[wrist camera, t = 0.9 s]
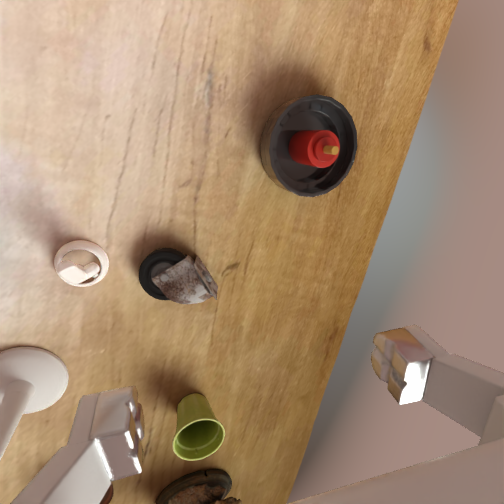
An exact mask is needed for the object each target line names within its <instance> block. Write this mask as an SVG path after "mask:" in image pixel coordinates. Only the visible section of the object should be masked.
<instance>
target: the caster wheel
mask: <svg viewBox="0 0 504 504" xmlns="http://www.w3.org/2000/svg"><path fill="white" fill-rule="evenodd" d="M139 281H140V284H141V286H142V288H143V289H144V290H145V291H146V292H147V293H148V294H149V295H150V296H152V297H154V298H156V299H159V300H172V301H174V302H177V303H181V304H195V303H200V302H203V301H205V300H207V299H209V298H210V297H212V296H214V298H215V299H216V300H217V289H218V286H217V284H216V283H215V281H214V280H213V278H212V276H211V275H210V273H209V272H208V270H207V269H206V267H205V266H204V264H203V263H202V261H201V260H200V258H199V257H198V256H197V257H196V260H195V261H194V260H193V259H192V258H191V257H190V256H188V255H184V254H182V253H181V252H179V251H177V250H175V249H171V248H162V249H158V250H155V251H154V252H152V253H151V254H149V255H148V256H147V257H146V259H145V260H144V261H143V262H142V264H141V266H140V269H139Z"/></svg>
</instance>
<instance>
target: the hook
mask: <svg viewBox="0 0 504 504" xmlns="http://www.w3.org/2000/svg"><path fill="white" fill-rule="evenodd" d="M73 250H86V251H89V252H91V253H93V254H94V255H96V257H97V258H98V259H99V261H100V263H101V271H100V274H97V273H98V272H99V270H100V268H99V266H98V264H97V263H95V262H91V263H89V264H87V265H85V266H82V265H76V264H75V263H73V262H72V261H70V260H65V261H62V262H61V260H62V258H63V257H64V256H65V255H66V254H67V253H69V252H71V251H73ZM54 265H55V269H56V272H57V274H58V275H59V277H60V278H61V279H62V280H63V281H65V282H66V283H68V284H70V285H73V286H78V287H85V286H90V285H93V284H96V283H97V282H99V281H100V280H102V279H103V278H104V277H105V275H106V273H107V271H108V268H109V260H108V257H107V254H106V253H105V251H104V250H103V249H102V248H101V247H100V246H98V245H97V244H95V243H93V242H90V241H85V240H76V241H71V242H69V243H67V244H65V245H64V246H62V247H61V248H60V249H59V250H58V252H57V253H56V256H55V259H54ZM98 275H99V276H98ZM92 276H93V278H95V277H97V276H98V277H97V278H96V279H95V280H93V281H91V282H88V283H81V282H83V281H85V280H87V279H89V278H90V277H92Z"/></svg>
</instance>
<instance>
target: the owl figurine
mask: <svg viewBox="0 0 504 504" xmlns="http://www.w3.org/2000/svg"><path fill="white" fill-rule="evenodd" d="M204 474H205V472H204V471H198V472H194V473H192V474H189V475H186V476H183V477H182V478H180V479H178V480H176V481H174V482H173V483H171V484H170V485H168V486H167V487H166V488H165V489H164V490H163V492H162V493H161V495H159V496H158V498H157V502H156V504H242V503H241V500H240V499H238V500H236V498H233V497H229V498H226V499H224V498H225V497H226V496H227V494H228V493H229V491H230V489H231V486H232V481H231V478H230V476H229V475H228V474H227V473H226V472H224V471H222V470H218V469H214V470H207V471H206V474H207V475H208V477H206V476H205V475H204ZM223 499H224V500H223Z"/></svg>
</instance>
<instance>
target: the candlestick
mask: <svg viewBox="0 0 504 504" xmlns="http://www.w3.org/2000/svg"><path fill="white" fill-rule="evenodd" d="M68 379H69V375H68V370H67V368H66V366H65V364H64V363H63V361H62V360H61V359H60V358H59V357H58V356H56V355H55V354H53V353H51V352H49V351H47V350H44V349H40V348H35V347H17V348H11V349H8V350H5V351H2V352H0V460H1V458H2V456H3V454H4V452H5V450H6V447H7V445H8V443H9V441H10V439H11V437H12V435H13V433H14V431H15V429H16V427H17V425H18V423H19V421H20V419H21V416H22V414H28V413H33V412H37V411H40V410H43V409H45V408H47V407H49V406H51V405H52V404H54V403H55V402H56V401H58V400H59V399H60V397H61V396H62V395H63V393H64V392H65V390H66V388H67V384H68Z"/></svg>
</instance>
